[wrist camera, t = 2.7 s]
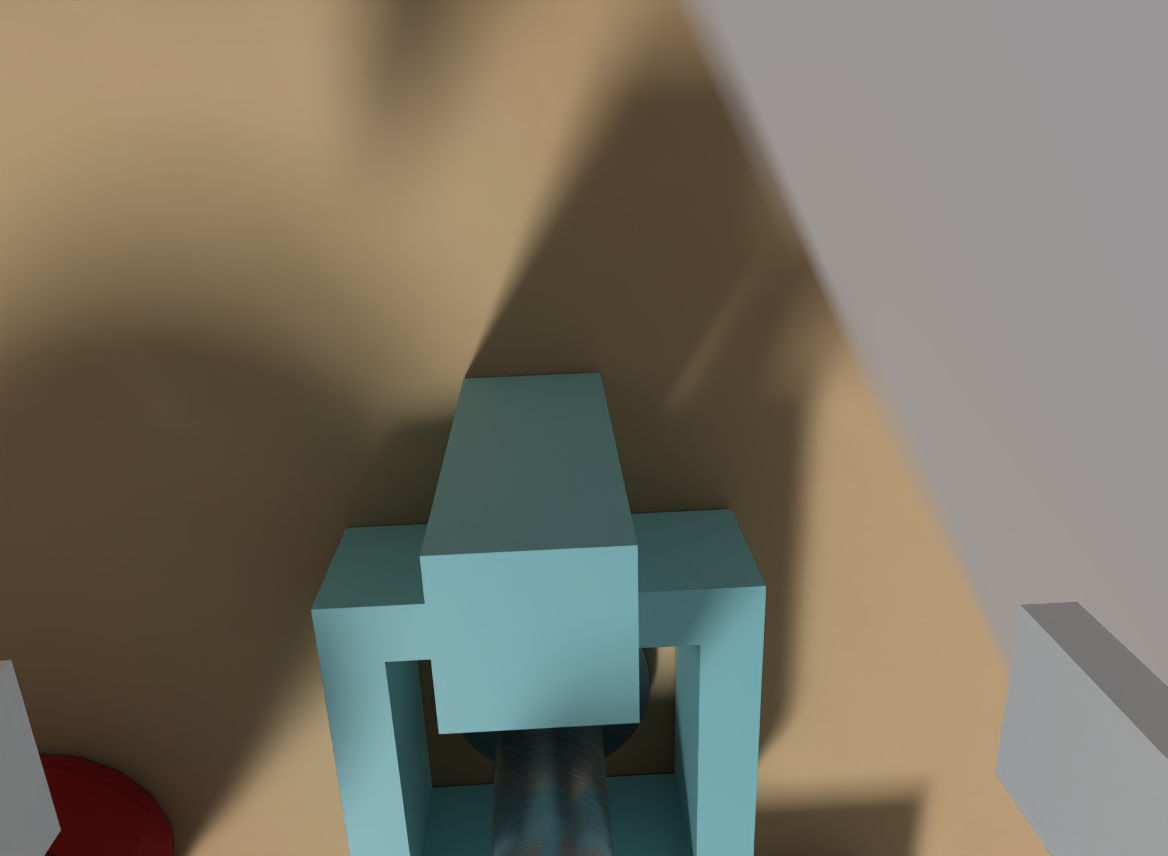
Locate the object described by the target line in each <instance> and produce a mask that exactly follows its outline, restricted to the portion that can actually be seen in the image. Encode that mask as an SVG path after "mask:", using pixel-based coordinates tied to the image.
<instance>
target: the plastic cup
mask: <svg viewBox="0 0 1168 856" xmlns="http://www.w3.org/2000/svg"><path fill="white" fill-rule="evenodd" d="M39 757H40V760H41V763H42V767H43V770H44V774H45V777H46V780H47V784H48V787H49V791H50V794H51V798H52V801H53V804H54V808H55V811H56V815H57V818H58V822H59V825H60V828H61V831H60V832H59V834H58V835H57V837H56V838H55V840H54V841H53V843H52V845H51V846H50V848H49V849H48V851H47V852H46V854H45V855H44V856H174V843H173V829H172V828H171V826H170V825H169V823H168V821H167V820H166V818H165V816H164V815H163V813H162V811H161V810H160V808H159V806H158V805H157V803H156V801H155V800H154V798H153V797H152V796H150V795H149V794H148V793H146V792H145V791H144V790H142V789H141V788H140V787H139V786H137V785H136V784H135V783H133V782H132V781H131V780H129V779H128V778H127V777H126V776H124V775H123V774H122V773H120V772H118V771H115V770H112V769H109V768H107V767H104V766H101V765H98V764H96V763H93V762H90V761H87V760H84V759H82V758H79V757H70V756H51V755H39Z"/></svg>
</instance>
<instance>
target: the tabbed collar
mask: <svg viewBox="0 0 1168 856" xmlns="http://www.w3.org/2000/svg"><path fill="white" fill-rule="evenodd" d="M765 600H766V585H765V582H764V580H763V578H762V576H761V574H760V571H759V569H758V567H757V565H756V563H755V560H754V558H753V556H752V554H751V551H750V549H749V547H748V545H747V543H746V540H745V538H744V536H743V534H742V532H741V529H740V527H739V525H738V523H737V521H736V518H735V516H734V514H733V512H732V510H731V509H720V510H700V511H679V512H659V513H639V514H631V512H630V508H629V503H628V498H627V494H626V489H625V484H624V480H623V475H622V470H621V466H620V461H619V456H618V452H617V447H616V443H615V438H614V433H613V429H612V424H611V419H610V415H609V410H608V405H607V401H606V396H605V392H604V387H603V382H602V378H601V373H600V372H599V373H576V374H553V375H530V376H508V377H485V378H464V380H463V384H462V388H461V392H460V396H459V400H458V404H457V408H456V412H455V416H454V420H453V424H452V428H451V432H450V436H449V440H448V444H447V448H446V452H445V456H444V460H443V464H442V468H441V472H440V476H439V480H438V485H437V489H436V493H435V497H434V501H433V505H432V509H431V513H430V517H429V521H428V524H415V525H395V526H374V527H354V528H346V529H345V531H344V534H343V536H342V538H341V541H340V543H339V545H338V548H337V550H336V552H335V555H334V557H333V559H332V562H331V564H330V566H329V569H328V571H327V573H326V576H325V578H324V580H323V583H322V585H321V587H320V590H319V592H318V594H317V597H316V599H315V601H314V604H313V606H312V608H311V614H312V620H313V626H314V633H315V639H316V645H317V651H318V658H319V664H320V670H321V676H322V682H323V689H324V695H325V701H326V707H327V714H328V720H329V726H330V732H331V739H332V745H333V751H334V757H335V763H336V770H337V776H338V782H339V788H340V795H341V801H342V807H343V813H344V820H345V826H346V832H347V838H348V844H349V851H350V856H490V843H491V827H492V810H493V794H494V784H483V785H466V786H449V787H432V780H431V772H430V763H429V754H428V745H427V737H426V728H425V719H424V710H423V702H422V693H421V684H420V675H419V667H418V660H430V659H431V666H432V675H433V684H434V693H435V703H436V712H437V721H438V730H439V734H450V733H467V732H485V731H503V730H520V729H538V728H555V727H573V726H590V725H608V724H626V723H640V713H639V648H651V647H670V646H675V773H670V774H653V775H636V776H619V777H606V781H607V791H608V801H609V811H610V821H611V831H612V841H613V852H614V856H754V835H755V814H756V792H757V771H758V750H759V728H760V707H761V685H762V664H763V643H764V621H765Z"/></svg>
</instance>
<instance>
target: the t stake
mask: <svg viewBox="0 0 1168 856" xmlns="http://www.w3.org/2000/svg"><path fill="white" fill-rule="evenodd" d="M649 693H650V680H649V672H648V667H647V662H646V658H645V654H644V651H643V648H639V713H640V722H641V720H642V718H643V716H644V713H645V711H646V708H647V704H648V700H649ZM639 724H640V723H626V724H608V725H590V726H573V727H555V728H538V729H520V730H503V731H485V732H467V733H461V734H462V735H463V736H464V738H465V739H466V740H467V741H468V742H469V743H470V744H471V745H472V746H473V747H474V748H475V749H477V750H478V751H479V752H480V753H482V754H483V755H485V756H487V757H488V758H490V759H492V760H493V761H496V762H495V778H494V794H493V810H492V827H491V843H490V856H614V852H613V841H612V831H611V821H610V811H609V801H608V791H607V781H606V770H605V760H604V758H605V757H606V756H608V755H610V754H611V753H613V752H614V751H615V750H617V749H618V748H619V747H620V746H622V745H623V744H624V743H625V742H626V741H627V740H628V739H629V738H630V737H631V735H632V734H633V733H634V731H635V730H636V729H637V727H638V725H639Z"/></svg>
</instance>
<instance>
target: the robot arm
mask: <svg viewBox="0 0 1168 856" xmlns="http://www.w3.org/2000/svg"><path fill="white" fill-rule="evenodd" d="M995 774H996V775H997V777H998V778H999V780H1000V781H1001V783H1002V784H1003V786H1004V787H1005V789H1006V790H1007V792H1008V793H1009V794H1010V796H1011V797H1012V799H1013V800H1014V802H1015V803H1016V805H1017V806H1018V808H1019V809H1020V811H1021V812H1022V814H1023V815H1024V817H1025V818H1026V820H1027V821H1028V823H1029V824H1030V825H1031V827H1032V828H1033V830H1034V831H1035V833H1036V834H1037V836H1038V837H1039V839H1040V840H1041V842H1042V843H1043V845H1044V846H1045V848H1046V849H1047V851H1048V852H1049V853H1050V855H1051V856H1168V686H1166V685H1165V684H1164V683H1163V682H1162V681H1161V680H1160V679H1159V678H1158V677H1157V676H1156V675H1155V674H1153V673H1152V672H1151V671H1150V670H1149V669H1148V668H1147V667H1146V666H1145V665H1144V664H1143V663H1142V662H1141V661H1140V660H1139V659H1138V658H1136V657H1135V656H1134V655H1133V654H1132V653H1131V652H1130V651H1129V650H1128V649H1127V648H1126V647H1125V646H1124V645H1123V644H1122V643H1120V642H1119V641H1118V640H1117V639H1116V638H1115V637H1114V636H1113V635H1112V634H1111V633H1110V632H1109V631H1108V630H1107V629H1105V628H1104V627H1103V626H1102V625H1101V624H1100V623H1099V622H1098V621H1097V620H1096V619H1095V618H1094V617H1093V616H1092V615H1090V614H1089V613H1088V612H1087V611H1086V610H1085V609H1084V608H1083V607H1082V606H1081V605H1080V604H1079V603H1078V602H1067V603H1049V604H1029V605H1020V612H1019V618H1018V625H1017V631H1016V638H1015V644H1014V651H1013V657H1012V664H1011V670H1010V677H1009V683H1008V690H1007V696H1006V703H1005V709H1004V716H1003V723H1002V729H1001V736H1000V742H999V749H998V755H997V762H996V768H995ZM60 831H61V828H60V825H59V822H58V818H57V815H56V811H55V808H54V804H53V801H52V798H51V794H50V791H49V787H48V784H47V780H46V777H45V774H44V770H43V767H42V763H41V760H40V757H39V753H38V750H37V746H36V743H35V739H34V736H33V733H32V729H31V726H30V722H29V719H28V715H27V712H26V709H25V705H24V702H23V698H22V695H21V691H20V688H19V685H18V681H17V678H16V674H15V671H14V667H13V664H12V661H11V660H3V661H0V856H44V855H45V854H46V852H47V851H48V849H49V848H50V846H51V845H52V843H53V841H54V840H55V838H56V837H57V835H58V834H59V832H60Z"/></svg>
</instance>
